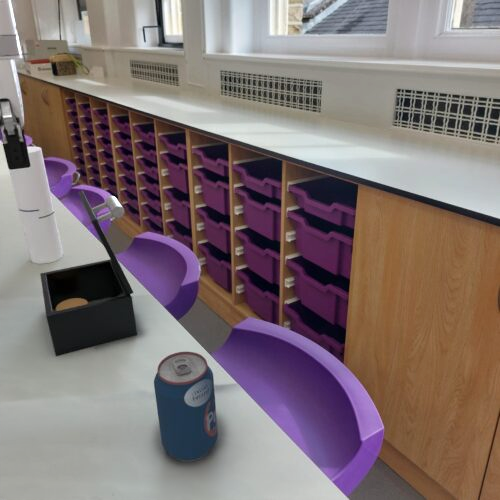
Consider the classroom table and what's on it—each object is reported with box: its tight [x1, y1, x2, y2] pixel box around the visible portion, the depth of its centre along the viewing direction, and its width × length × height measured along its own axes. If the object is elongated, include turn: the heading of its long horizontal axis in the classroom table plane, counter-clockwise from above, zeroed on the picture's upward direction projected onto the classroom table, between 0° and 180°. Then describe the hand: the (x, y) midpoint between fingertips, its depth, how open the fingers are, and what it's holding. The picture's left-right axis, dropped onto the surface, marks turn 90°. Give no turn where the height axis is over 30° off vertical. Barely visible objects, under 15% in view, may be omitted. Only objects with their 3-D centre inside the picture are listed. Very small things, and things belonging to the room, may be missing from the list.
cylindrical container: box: [8, 146, 64, 265], centre depth 108 cm, size 7×7×25 cm
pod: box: [55, 298, 89, 311], centre depth 83 cm, size 5×5×4 cm
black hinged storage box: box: [39, 258, 138, 357], centre depth 83 cm, size 13×16×9 cm
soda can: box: [153, 351, 219, 463], centre depth 59 cm, size 7×7×12 cm
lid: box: [77, 190, 134, 295], centre depth 81 cm, size 14×16×5 cm
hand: (19, 161), depth 80 cm, fingers open, 9 cm apart
